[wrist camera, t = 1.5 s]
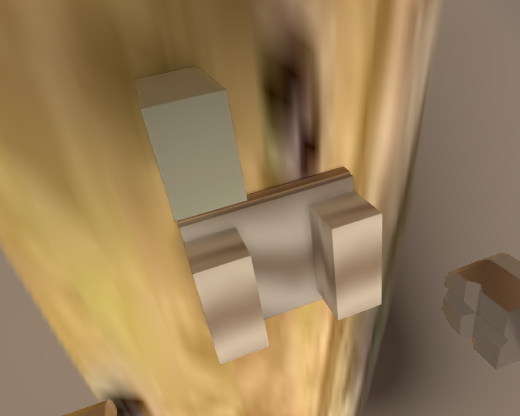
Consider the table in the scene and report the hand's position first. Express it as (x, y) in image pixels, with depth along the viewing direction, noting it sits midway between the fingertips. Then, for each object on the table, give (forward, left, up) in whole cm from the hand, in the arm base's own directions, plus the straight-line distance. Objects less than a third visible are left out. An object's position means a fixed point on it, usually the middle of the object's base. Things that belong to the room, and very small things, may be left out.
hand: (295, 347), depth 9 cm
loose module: (0, 0, -20) cm, 20 cm away
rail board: (+13, +5, -20) cm, 24 cm away
